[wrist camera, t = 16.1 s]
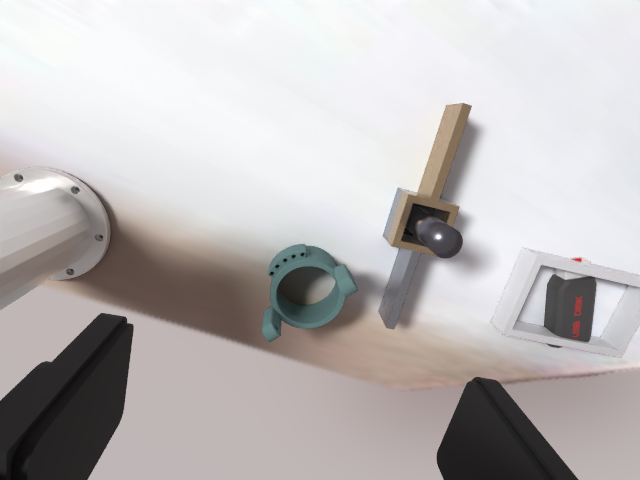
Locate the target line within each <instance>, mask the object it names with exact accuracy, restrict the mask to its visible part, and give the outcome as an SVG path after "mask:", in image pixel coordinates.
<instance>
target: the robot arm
mask: <svg viewBox="0 0 640 480" xmlns="http://www.w3.org/2000/svg"><path fill="white" fill-rule="evenodd" d="M78 188H79V190H80V191H79V190H78ZM101 235H102V236H103V237H102V236H101ZM110 236H111V231H110V222H109V218H108V215H107V212H106V210H105V208H104V206H103V204H102V203H101V201H100V200H99V198H98V197H97V196H96V194H95V193H94V192H93V191H92V190H91V189H90V188H89V187H88V186H87V185H85V184H84V183H83V182H81V181H80V180H78V179H77V178H75V177H73V176H71V175H69V174H67V173H65V172H62V171H59V170H55V169H51V168H44V167H33V168H25V169H19V170H16V171H13V172H10V173H7V174H6V175H4V176H3V177H1V178H0V310H1V309H3V308H4V307H6V306H8V305H9V304H11V303H12V302H14V301H16V300H17V299H19V298H20V297H22V296H23V295H25V294H26V293H28V292H29V291H31V290H33V289H34V288H36V287H37V286H39V285H40V284H42V283H44V282H45V281H47V280H48V279H49V280H65V279H70V278H74V277H77V276H80V275H82V274H84V273H86V272H87V271H89V270H90V269H92V268H93V267H94V266H95V265H96V264H98V263H99V262H100V261H101V259H102V258H103V256H104V255H105V253H106V251H107V249H108V246H109V243H110ZM132 337H133V324H129V323H127V318H126V317H123V316H117V315H111V314H105V313H101V314H100V315H98V316H97V317H96V318H95V319H94V320H93V321H92V322H91V323H90V324H89V325H88V326H87V328H85V329H84V330H83V331H82V332H81V333H80V334H79V336H77V337H76V338H75V339H74V340H73V341H72V342H71V343H70V344H69V345H68V346H67V347H66V348H65V349H64V350H63V351H62V352H61V353H60V354H59V355H58V356H57V357H56V358H55V359H54V360H53V361H52V362H47V361H46V362H42V363H40V364H39V365H38V366H36V367H35V368H34V369H33V370H32V371H31V372H30V373H29V374H28V375H27V376H26V377H25V378H24V379H23V380H22V381H21V382H19V383H18V384H17V386H15V388H13V389H12V390H11V391H10V392H9V393H8V394H7V395H6V396H5V397H4V398H3V399H2V400H1V401H0V480H87V479H88V477H89V476H90V474H91V472H92V471H93V469H94V467H95V465H96V464H97V462H98V460H99V458H100V457H101V455H102V453H103V451H104V449H105V448H106V446H107V444H108V442H109V440H110V439H111V437H112V435H113V434H114V432H115V430H116V428H117V427H118V425H119V423H120V420H121V418H122V414H123V410H124V403H125V394H126V386H127V378H128V369H129V362H130V353H131V345H132ZM437 464H438V467H439V469H440V472H441V474H442V476H443V479H444V480H578V479H577V477H576V476H575V475H574V474H573V473H572V471H571V470H570V469H569V468H568V466H567V465H566V464H565V463H564V462H563V460H562V459H561V458H560V457H559V455H558V454H557V453H556V452H555V450H554V449H553V448H552V447H551V446H550V444H549V443H548V442H547V441H546V439H545V438H544V437H543V436H542V435H541V433H540V432H539V431H538V430H537V428H536V427H535V426H534V425H533V424H532V422H531V421H530V420H529V419H528V417H527V416H526V415H525V414H524V413H523V411H522V410H521V409H520V408H519V407H518V405H517V404H516V403H515V402H514V400H513V399H512V398H511V397H510V395H509V394H508V393H507V392H506V390H505V389H504V388H503V387H502V386H501V384H500V383H499V382H498V381H496V380H492V379H486V378H480V377H475V378H474V379H473V380H472V381H469V382H468V383H467V385H466V386H465V389H464V391H463V393H462V396H461V398H460V400H459V403H458V405H457V408H456V410H455V412H454V414H453V417H452V419H451V422H450V424H449V426H448V428H447V431H446V433H445V435H444V438H443V440H442V442H441V445H440V447H439V449H438V452H437Z"/></svg>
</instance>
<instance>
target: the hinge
mask: <svg viewBox="0 0 640 480" xmlns="http://www.w3.org/2000/svg"><path fill="white" fill-rule="evenodd" d="M471 107H472V106H471V105H467V104H464V103H460V104H452V105H446V108H445V111H444V114H443V117H442V120H441V123H440V126H439V129H438V132H437V135H436V138H435V141H434V144H433V148H432V151H431V154H430V157H429V160H428V163H427V166H426V169H425V172H424V175H423V178H422V181H421V184H420V187H419V190H418V193H417V192H413V191H409V190H404V189H400V188H398V189H397V192H396V195H395V198H394V202H393V205H392V208H391V211H390V214H389V218H388V221H387V224H386V227H385V230H384V234H383V237H384V238H385V239H386V240H387V241H388V242H389V244H390V245H391V246H393V247H398V248H399V251H398V254H397V257H396V260H395V263H394V266H393V269H392V272H391V275H390V278H389V281H388V284H387V287H386V290H385V293H384V296H383V300H382V303H381V306H380V309H379V314H380V316H381V318H382V320H383V322H384V324H385V326H386V328H389V329H395V326H396V323H397V320H398V317H399V314H400V311H401V308H402V306H403V303H404V300H405V297H406V294H407V291H408V288H409V285H410V282H411V280H412V277H413V274H414V271H415V268H416V265H417V262H418V259H419V257H420V254H421V253H425V254H429V255H434V256H437V255H435V254H434V253H433V252H432V251H431V250H430V249H429V248H427V247H426V246H425V245H424V244H423V243H422V242H421V241H419V240H418V239H417V238H416V237H415V236H411V235H406V234H403V232H404V229H405V226H406V223H407V220H408V217H409V214H410V211H411V208H412V205H413V203H416V204H420V205H424V206H428V207H432V208H435V210H434V213H433V216H435V217H436V218H438V219H440V220H441V221H443V222H445V223H446V224H448V225H449V226H451V227H452V226H453V224H454V221H455V218H456V216H457V213H458V210H459V206H457V205H455V204H453V203H451V202H449V201H447V200H445V199H441V198H440V196H441V193H442V190H443V188H444V185H445V182H446V179H447V176H448V173H449V170H450V167H451V165H452V162H453V159H454V156H455V153H456V150H457V147H458V144H459V142H460V139H461V136H462V133H463V130H464V127H465V124H466V121H467V119H468V116H469V113H470V110H471Z"/></svg>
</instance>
